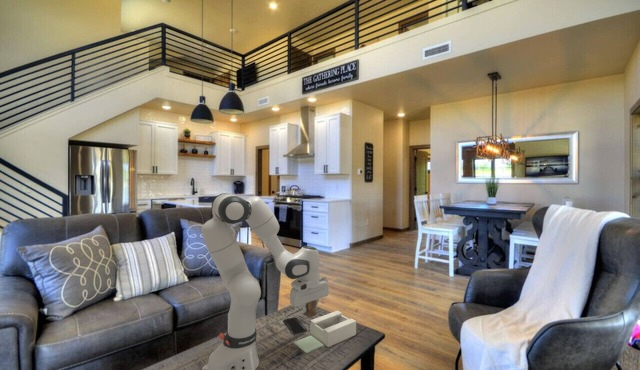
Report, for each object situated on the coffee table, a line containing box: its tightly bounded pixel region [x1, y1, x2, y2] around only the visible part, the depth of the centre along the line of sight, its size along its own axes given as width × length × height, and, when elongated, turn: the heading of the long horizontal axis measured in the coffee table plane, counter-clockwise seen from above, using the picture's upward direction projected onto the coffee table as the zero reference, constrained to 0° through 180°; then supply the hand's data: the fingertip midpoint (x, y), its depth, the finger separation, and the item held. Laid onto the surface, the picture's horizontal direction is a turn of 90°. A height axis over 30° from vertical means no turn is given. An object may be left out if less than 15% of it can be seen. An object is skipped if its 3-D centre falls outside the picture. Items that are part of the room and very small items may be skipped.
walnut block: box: [303, 300, 317, 318], centre depth 140 cm, size 4×4×7 cm
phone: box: [282, 316, 307, 336], centre depth 158 cm, size 8×1×15 cm
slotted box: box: [309, 310, 357, 348], centre depth 150 cm, size 18×14×7 cm
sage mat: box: [293, 334, 325, 354], centre depth 141 cm, size 10×10×1 cm
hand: (310, 310), depth 141 cm, fingers closed on walnut block, 4 cm apart
